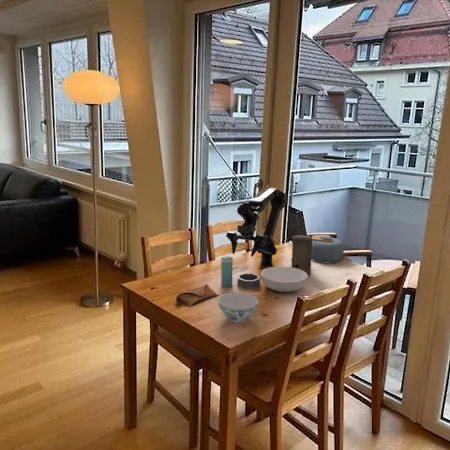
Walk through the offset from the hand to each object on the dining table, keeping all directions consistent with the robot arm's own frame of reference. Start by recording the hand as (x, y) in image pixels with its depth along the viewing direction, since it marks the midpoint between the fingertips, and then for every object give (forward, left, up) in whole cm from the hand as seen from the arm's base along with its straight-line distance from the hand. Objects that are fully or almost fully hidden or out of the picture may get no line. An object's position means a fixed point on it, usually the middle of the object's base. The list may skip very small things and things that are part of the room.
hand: (242, 255), depth 208 cm
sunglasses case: (+21, -19, -14) cm, 31 cm away
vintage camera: (-17, +29, -13) cm, 36 cm away
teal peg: (+5, -7, -13) cm, 16 cm away
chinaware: (+39, -2, -13) cm, 41 cm away
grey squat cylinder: (-39, +46, -13) cm, 61 cm away
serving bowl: (+7, +19, -13) cm, 24 cm away
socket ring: (+3, +3, -13) cm, 14 cm away
